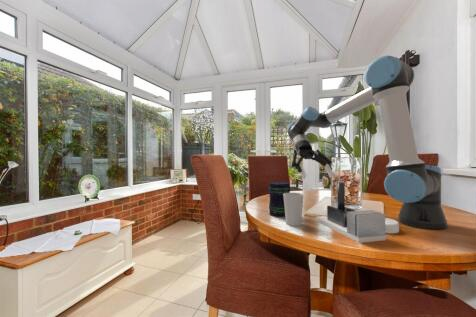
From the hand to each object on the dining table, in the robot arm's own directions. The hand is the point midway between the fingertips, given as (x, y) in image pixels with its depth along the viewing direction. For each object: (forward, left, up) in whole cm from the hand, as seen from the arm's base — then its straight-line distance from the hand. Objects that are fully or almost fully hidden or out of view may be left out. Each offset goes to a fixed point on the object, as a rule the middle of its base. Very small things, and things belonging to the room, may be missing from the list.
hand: (318, 176), depth 103 cm
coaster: (-13, +21, -18) cm, 31 cm away
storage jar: (+16, -8, -18) cm, 25 cm away
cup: (+16, +7, -18) cm, 25 cm away
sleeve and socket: (0, +21, -16) cm, 26 cm away
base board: (0, +18, -18) cm, 26 cm away
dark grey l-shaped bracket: (0, +21, -15) cm, 26 cm away
